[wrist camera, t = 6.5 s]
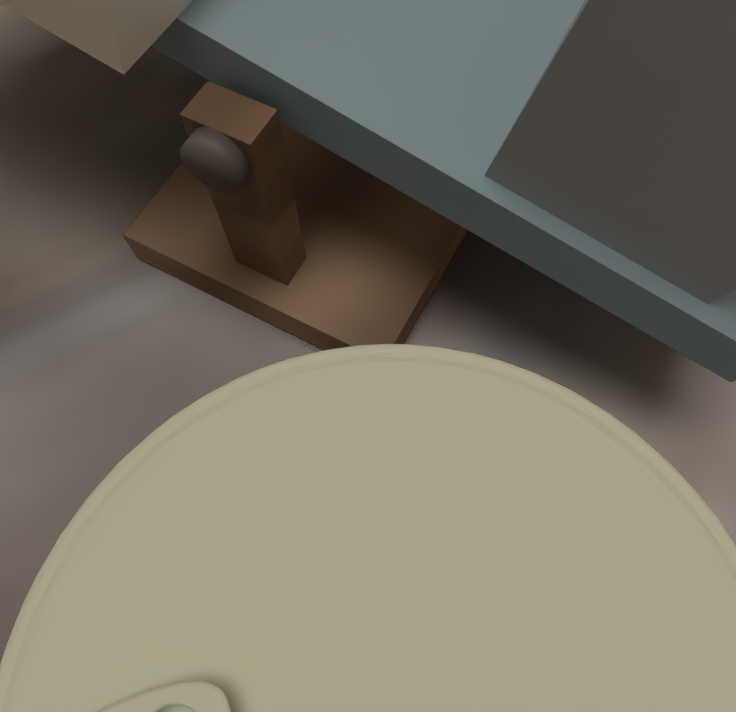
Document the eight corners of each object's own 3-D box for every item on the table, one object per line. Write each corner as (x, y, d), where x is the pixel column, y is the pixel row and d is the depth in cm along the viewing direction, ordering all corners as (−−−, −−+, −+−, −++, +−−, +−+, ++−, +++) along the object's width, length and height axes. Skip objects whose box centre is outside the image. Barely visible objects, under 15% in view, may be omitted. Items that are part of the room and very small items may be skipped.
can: (201, 534, 19) (-44, 398, 8) (499, 470, 20) (652, 262, 9) (240, 918, 15) (-114, 1645, 4) (603, 825, 16) (1104, 1253, 5)
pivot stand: (137, 258, 23) (23, 81, 16) (340, 2, 28) (327, -222, 21) (383, 379, 21) (385, 241, 14) (553, 78, 26) (622, -139, 19)
